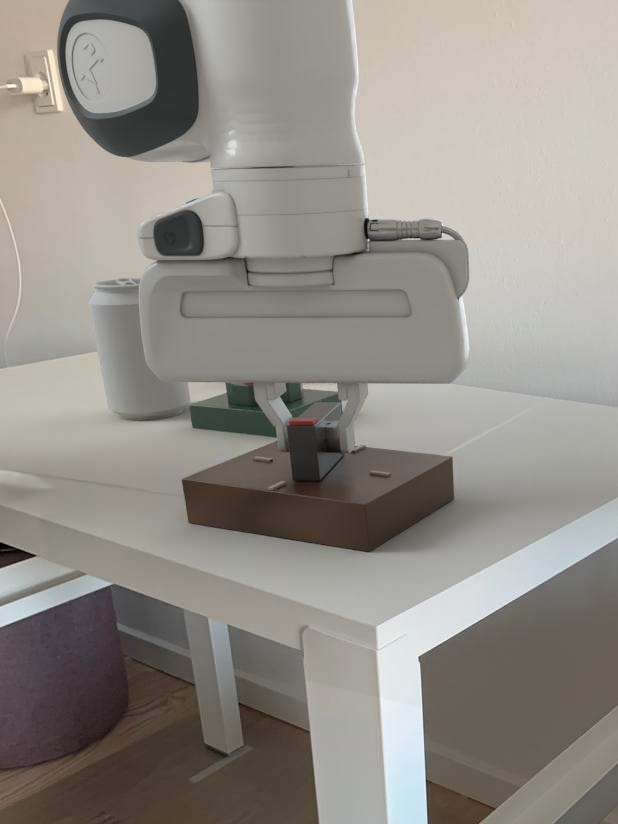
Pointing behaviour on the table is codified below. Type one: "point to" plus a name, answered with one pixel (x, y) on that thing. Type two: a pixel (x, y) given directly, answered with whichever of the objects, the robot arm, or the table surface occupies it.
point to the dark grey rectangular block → (312, 441)
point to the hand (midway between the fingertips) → (317, 450)
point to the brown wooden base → (321, 496)
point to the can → (129, 356)
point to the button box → (251, 409)
